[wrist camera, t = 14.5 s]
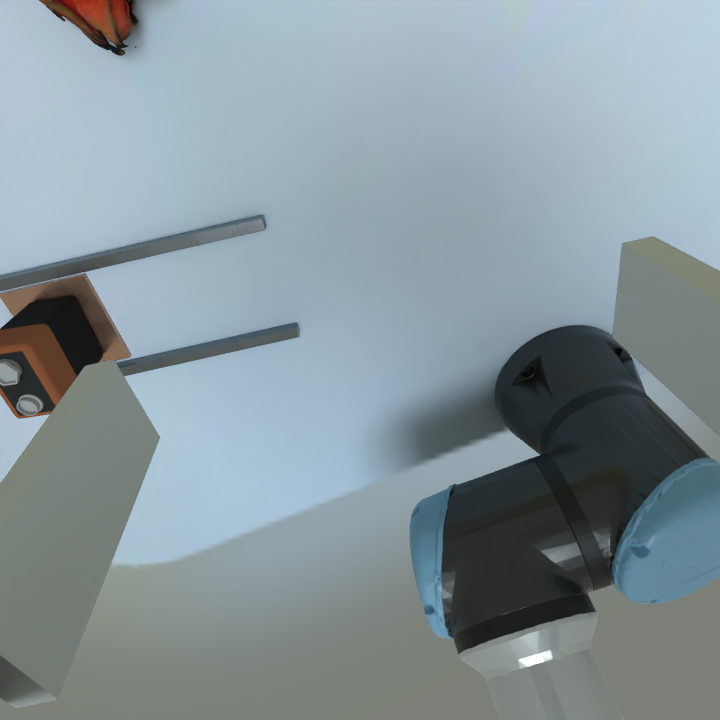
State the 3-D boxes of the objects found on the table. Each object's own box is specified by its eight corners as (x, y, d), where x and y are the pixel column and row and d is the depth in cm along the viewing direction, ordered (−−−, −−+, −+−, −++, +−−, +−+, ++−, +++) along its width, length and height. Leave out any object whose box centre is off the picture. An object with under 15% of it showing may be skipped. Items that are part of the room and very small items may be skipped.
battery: (75, 293, 43) (20, 350, 35) (106, 355, 47) (62, 420, 39) (28, 300, 43) (-39, 359, 35) (63, 362, 47) (9, 428, 39)
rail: (299, 330, 48) (299, 336, 47) (35, 390, 49) (30, 397, 48) (262, 214, 41) (261, 218, 40) (-42, 285, 42) (-50, 291, 41)
